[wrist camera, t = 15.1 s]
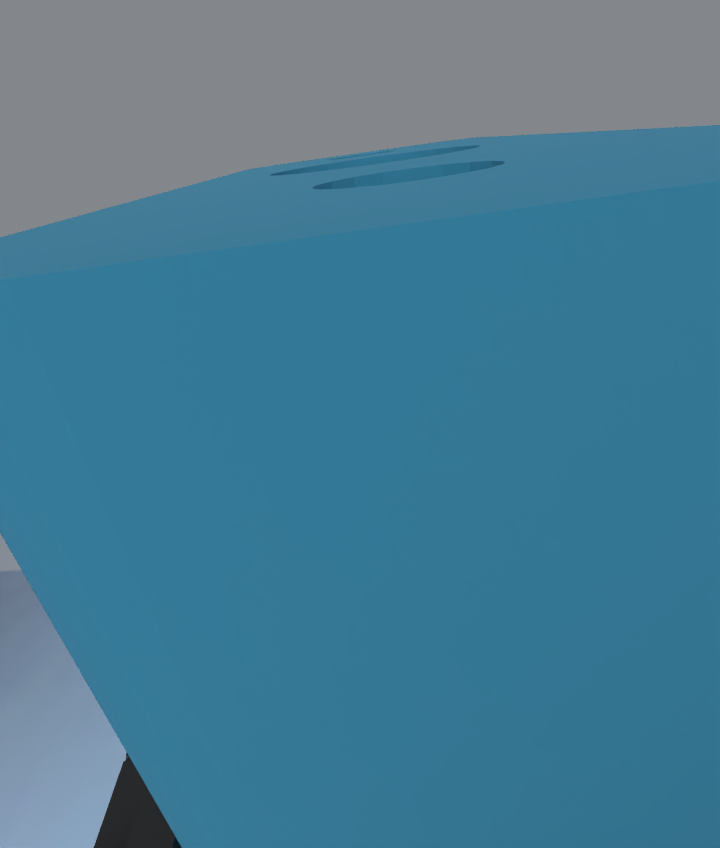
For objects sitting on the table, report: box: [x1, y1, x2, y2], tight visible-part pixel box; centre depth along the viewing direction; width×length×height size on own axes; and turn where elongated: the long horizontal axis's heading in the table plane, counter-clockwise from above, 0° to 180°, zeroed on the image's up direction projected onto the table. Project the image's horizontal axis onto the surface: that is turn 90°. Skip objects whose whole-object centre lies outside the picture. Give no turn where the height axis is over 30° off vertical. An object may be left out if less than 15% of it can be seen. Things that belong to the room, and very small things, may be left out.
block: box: [0, 125, 720, 848], centre depth 12 cm, size 12×5×20 cm, turn 3°
